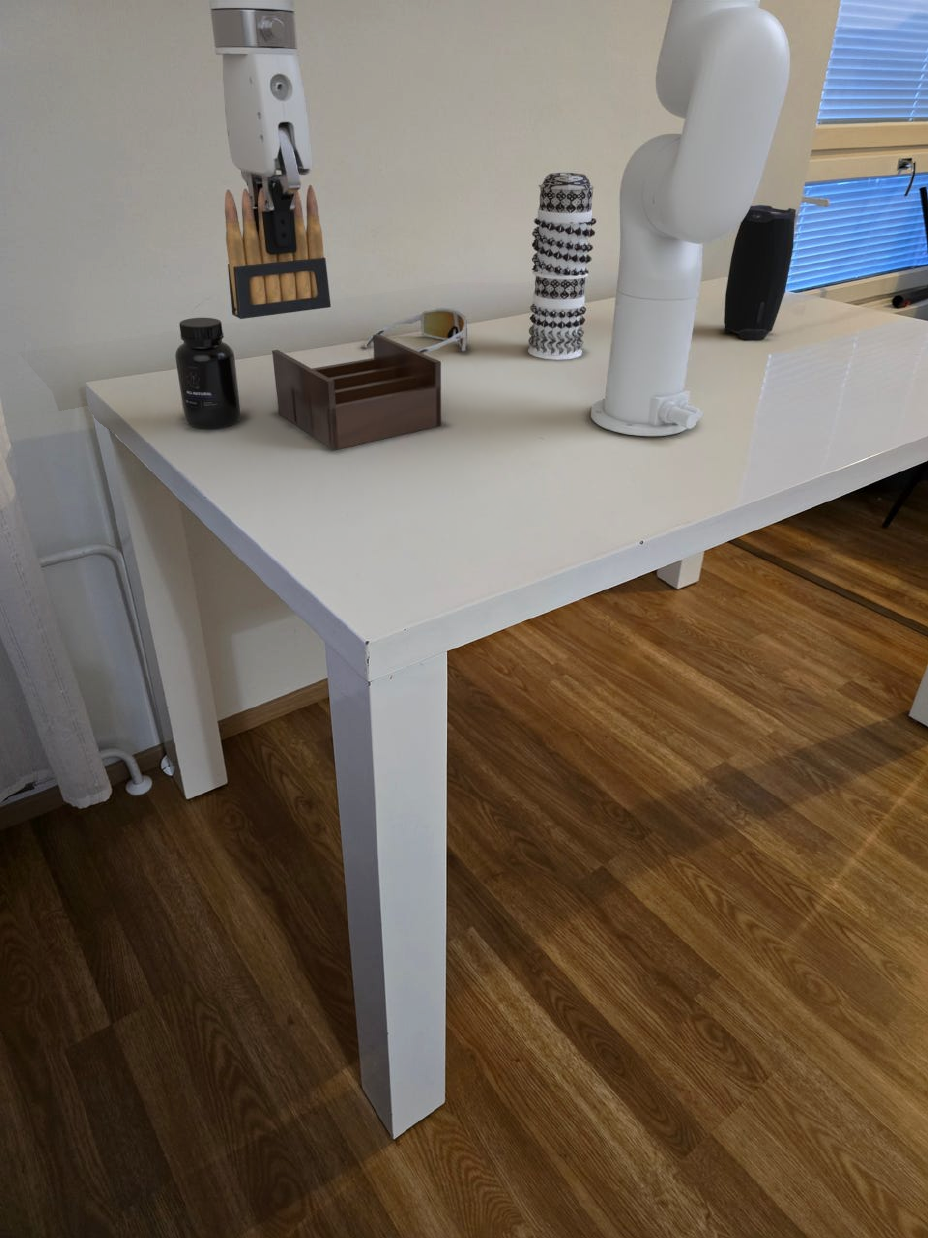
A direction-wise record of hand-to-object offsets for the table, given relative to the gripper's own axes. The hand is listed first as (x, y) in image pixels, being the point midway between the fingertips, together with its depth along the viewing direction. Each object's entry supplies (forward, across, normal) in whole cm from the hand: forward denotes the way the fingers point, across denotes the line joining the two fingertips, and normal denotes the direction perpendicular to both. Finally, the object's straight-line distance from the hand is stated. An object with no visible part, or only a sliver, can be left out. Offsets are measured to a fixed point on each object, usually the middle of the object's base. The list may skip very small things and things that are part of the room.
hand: (276, 249), depth 88 cm
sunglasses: (+21, +27, -34) cm, 48 cm away
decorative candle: (+21, +14, -51) cm, 57 cm away
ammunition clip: (+6, 0, 0) cm, 6 cm away
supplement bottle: (+21, +13, +5) cm, 25 cm away
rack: (+21, +3, -10) cm, 24 cm away
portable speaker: (+21, +5, -86) cm, 89 cm away
